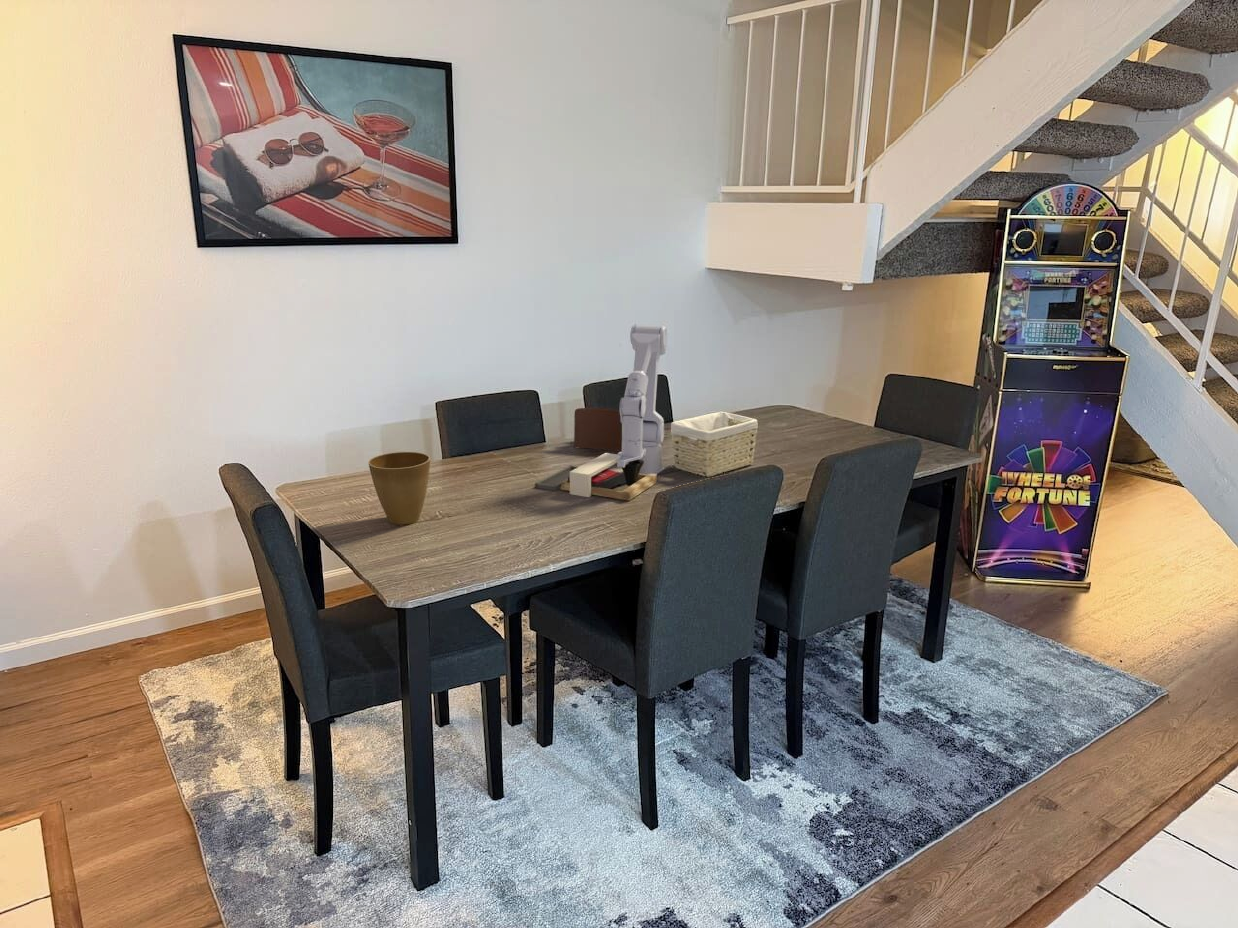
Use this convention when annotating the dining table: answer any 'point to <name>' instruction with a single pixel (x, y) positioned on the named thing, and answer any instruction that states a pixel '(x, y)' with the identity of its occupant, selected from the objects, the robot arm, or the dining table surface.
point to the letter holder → (598, 429)
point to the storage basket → (713, 443)
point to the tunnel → (579, 475)
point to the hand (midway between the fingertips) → (631, 485)
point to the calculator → (608, 478)
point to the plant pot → (401, 484)
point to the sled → (627, 494)
